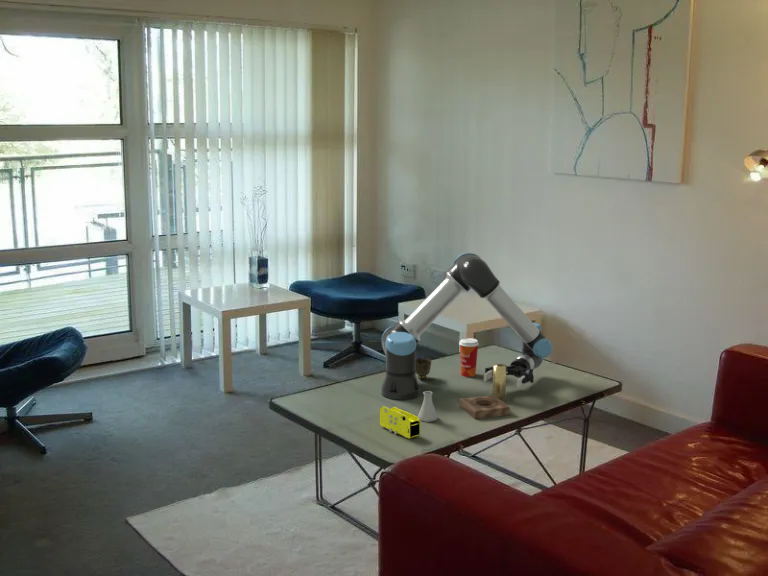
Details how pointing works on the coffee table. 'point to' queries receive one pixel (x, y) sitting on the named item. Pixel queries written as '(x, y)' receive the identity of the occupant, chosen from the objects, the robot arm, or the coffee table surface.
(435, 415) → the flask
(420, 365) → the cup
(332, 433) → the coffee table surface
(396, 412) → the yellow toy chassis
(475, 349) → the coffee cup
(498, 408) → the jig plate
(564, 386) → the coffee table surface
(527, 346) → the robot arm
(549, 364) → the coffee table surface
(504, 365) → the cylinder
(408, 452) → the coffee table surface
